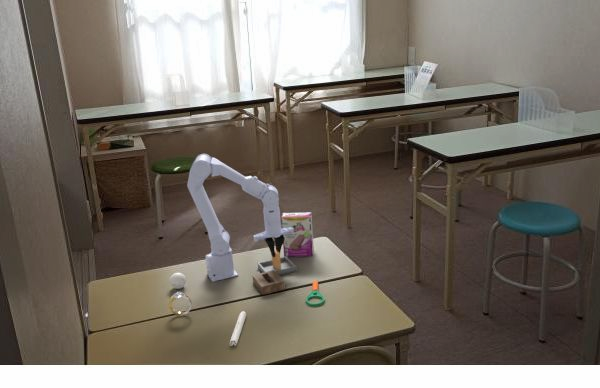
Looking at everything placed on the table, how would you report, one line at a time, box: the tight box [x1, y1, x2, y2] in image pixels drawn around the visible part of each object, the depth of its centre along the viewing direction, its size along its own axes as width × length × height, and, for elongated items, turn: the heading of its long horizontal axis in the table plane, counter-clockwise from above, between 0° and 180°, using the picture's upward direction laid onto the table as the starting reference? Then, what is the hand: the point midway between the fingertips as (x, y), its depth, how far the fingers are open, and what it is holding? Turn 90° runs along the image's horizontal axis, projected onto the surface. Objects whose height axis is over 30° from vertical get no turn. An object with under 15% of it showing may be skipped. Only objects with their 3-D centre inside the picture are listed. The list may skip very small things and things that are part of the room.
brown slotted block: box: [251, 270, 286, 296], centre depth 201 cm, size 8×10×3 cm
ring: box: [167, 291, 192, 317], centre depth 186 cm, size 7×3×8 cm, turn 87°
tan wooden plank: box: [271, 247, 281, 270], centre depth 213 cm, size 1×6×7 cm, turn 22°
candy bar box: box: [280, 211, 315, 258], centre depth 223 cm, size 11×5×16 cm, turn 84°
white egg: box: [167, 272, 187, 290], centre depth 205 cm, size 8×6×6 cm
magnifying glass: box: [305, 280, 325, 307], centre depth 193 cm, size 15×6×2 cm, turn 178°
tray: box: [257, 255, 297, 276], centre depth 214 cm, size 11×10×2 cm
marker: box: [229, 310, 247, 347], centre depth 176 cm, size 18×2×2 cm, turn 175°
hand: (275, 255), depth 212 cm, fingers closed on tan wooden plank, 1 cm apart
